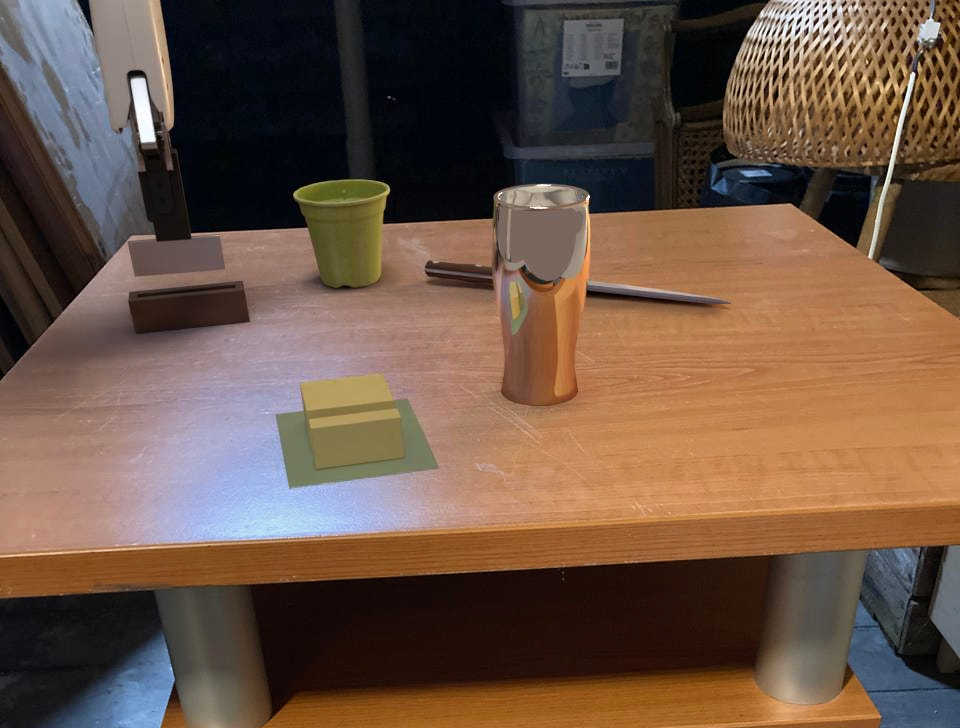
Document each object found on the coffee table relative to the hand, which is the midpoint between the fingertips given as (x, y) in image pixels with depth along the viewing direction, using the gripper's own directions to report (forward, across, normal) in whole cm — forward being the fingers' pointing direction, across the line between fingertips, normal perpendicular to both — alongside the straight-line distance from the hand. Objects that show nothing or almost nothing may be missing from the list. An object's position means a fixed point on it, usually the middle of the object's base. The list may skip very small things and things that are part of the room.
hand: (166, 215), depth 88 cm
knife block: (+10, 0, 0) cm, 10 cm away
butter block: (+9, +30, +12) cm, 33 cm away
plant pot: (+10, -8, +16) cm, 21 cm away
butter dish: (+10, +31, +12) cm, 35 cm away
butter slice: (+9, +34, +12) cm, 37 cm away
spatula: (+5, 0, 0) cm, 5 cm away
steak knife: (+9, +3, +36) cm, 38 cm away
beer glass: (+10, +27, +26) cm, 39 cm away
